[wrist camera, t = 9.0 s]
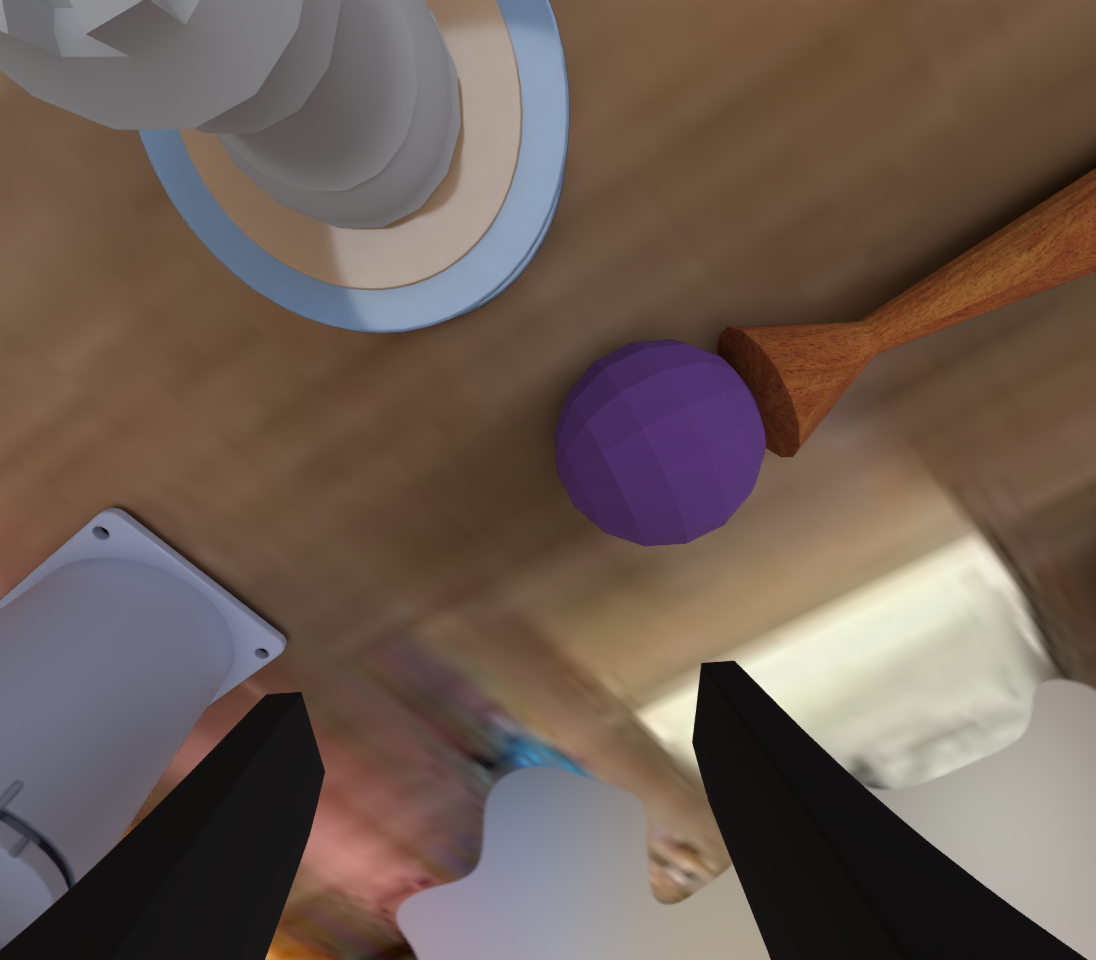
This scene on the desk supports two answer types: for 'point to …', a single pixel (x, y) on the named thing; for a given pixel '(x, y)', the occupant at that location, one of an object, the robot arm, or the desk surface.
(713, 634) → the desk surface
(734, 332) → the kendama
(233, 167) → the short blue cylinder
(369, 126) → the rook chess piece
